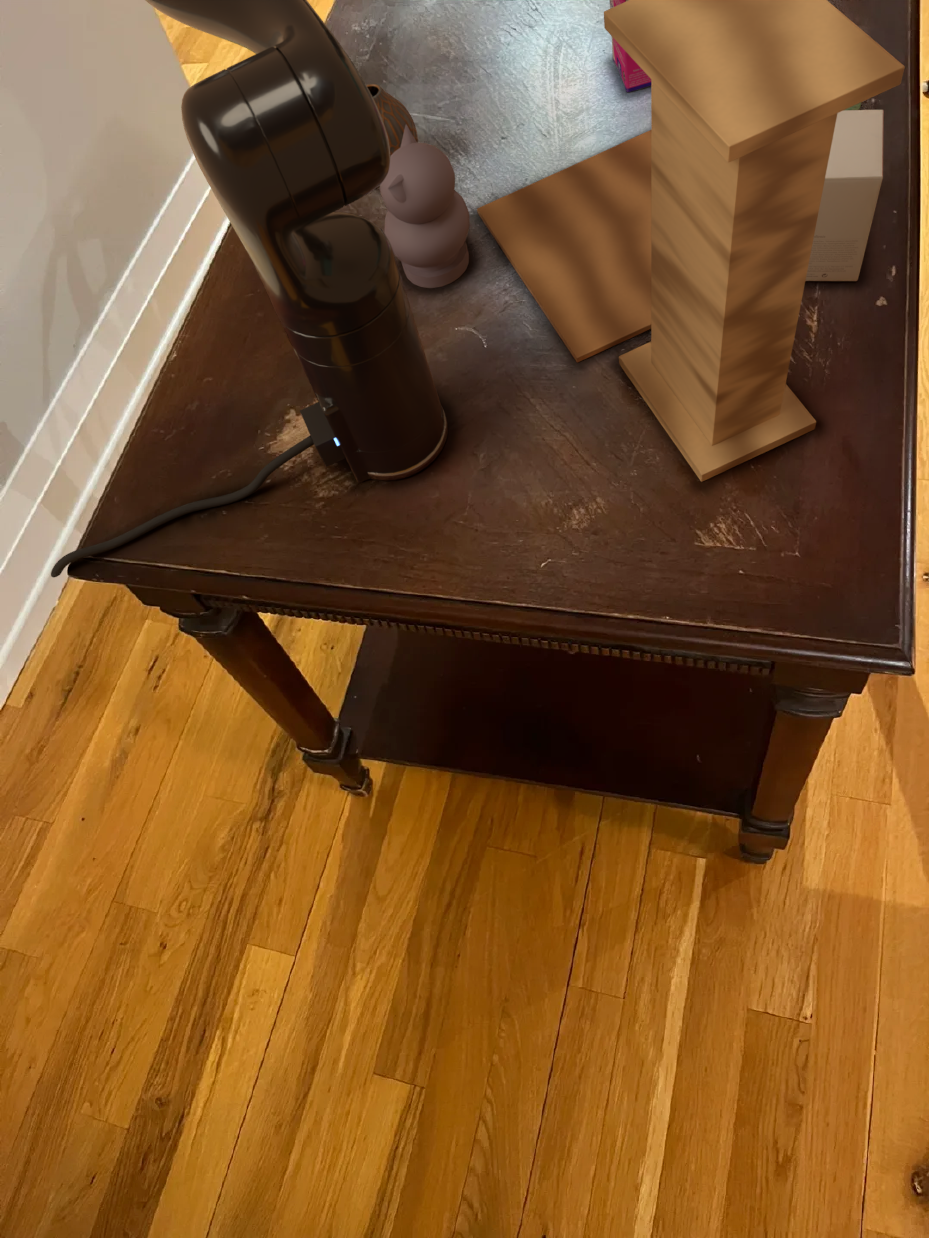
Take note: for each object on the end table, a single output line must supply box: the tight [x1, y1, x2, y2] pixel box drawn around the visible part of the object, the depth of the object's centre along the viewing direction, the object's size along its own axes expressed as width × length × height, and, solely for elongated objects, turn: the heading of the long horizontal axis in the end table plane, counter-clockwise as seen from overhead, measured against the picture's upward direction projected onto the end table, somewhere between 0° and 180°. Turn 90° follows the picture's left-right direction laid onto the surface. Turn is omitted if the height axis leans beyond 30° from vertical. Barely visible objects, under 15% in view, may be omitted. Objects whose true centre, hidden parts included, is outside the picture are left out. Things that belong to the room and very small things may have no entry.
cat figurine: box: [379, 124, 470, 289], centre depth 84 cm, size 8×8×12 cm
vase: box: [365, 82, 419, 156], centre depth 93 cm, size 7×7×9 cm
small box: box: [805, 109, 885, 282], centre depth 77 cm, size 8×6×10 cm
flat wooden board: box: [476, 129, 651, 363], centre depth 86 cm, size 20×22×1 cm
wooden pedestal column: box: [603, 0, 905, 483], centre depth 64 cm, size 10×14×30 cm
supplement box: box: [608, 0, 651, 93], centre depth 91 cm, size 6×6×12 cm
